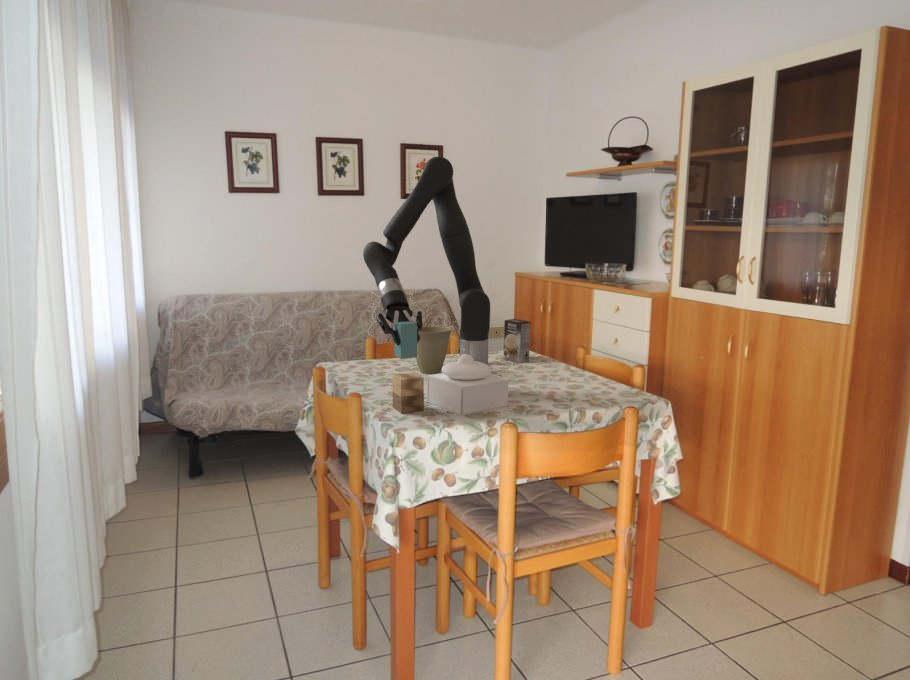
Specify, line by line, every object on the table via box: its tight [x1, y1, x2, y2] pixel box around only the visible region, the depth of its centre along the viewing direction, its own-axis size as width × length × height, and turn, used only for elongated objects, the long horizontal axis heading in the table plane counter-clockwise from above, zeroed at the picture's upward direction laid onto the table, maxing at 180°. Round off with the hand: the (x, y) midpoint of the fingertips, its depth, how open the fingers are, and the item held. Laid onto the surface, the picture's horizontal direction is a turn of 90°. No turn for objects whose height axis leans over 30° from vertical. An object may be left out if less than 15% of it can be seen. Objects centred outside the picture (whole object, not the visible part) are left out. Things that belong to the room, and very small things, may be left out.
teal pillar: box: [394, 321, 417, 360], centre depth 194 cm, size 5×5×10 cm
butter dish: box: [426, 354, 510, 417], centre depth 201 cm, size 18×18×16 cm
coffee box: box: [502, 318, 532, 364], centre depth 267 cm, size 9×6×16 cm
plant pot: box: [415, 325, 452, 375], centre depth 245 cm, size 15×15×16 cm
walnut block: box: [392, 391, 425, 414], centre depth 196 cm, size 7×7×5 cm
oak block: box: [391, 372, 425, 397], centre depth 196 cm, size 7×7×5 cm
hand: (408, 342), depth 193 cm, fingers closed on teal pillar, 5 cm apart
